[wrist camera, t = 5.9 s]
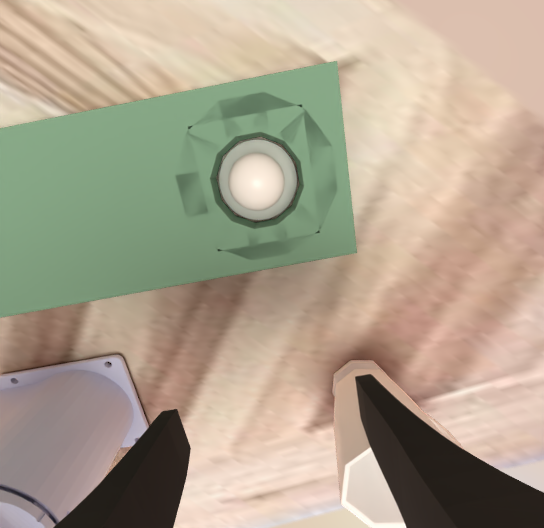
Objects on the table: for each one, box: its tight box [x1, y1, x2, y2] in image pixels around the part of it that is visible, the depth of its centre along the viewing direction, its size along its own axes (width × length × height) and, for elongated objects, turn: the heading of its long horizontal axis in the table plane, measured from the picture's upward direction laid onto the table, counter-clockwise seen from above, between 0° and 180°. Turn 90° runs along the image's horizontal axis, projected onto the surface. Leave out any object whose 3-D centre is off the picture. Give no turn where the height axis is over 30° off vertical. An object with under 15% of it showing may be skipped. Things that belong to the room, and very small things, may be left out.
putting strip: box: [0, 61, 357, 317], centre depth 18 cm, size 24×10×2 cm, turn 100°
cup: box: [332, 360, 463, 528], centre depth 20 cm, size 7×10×8 cm
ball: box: [228, 152, 285, 211], centre depth 17 cm, size 3×3×3 cm
